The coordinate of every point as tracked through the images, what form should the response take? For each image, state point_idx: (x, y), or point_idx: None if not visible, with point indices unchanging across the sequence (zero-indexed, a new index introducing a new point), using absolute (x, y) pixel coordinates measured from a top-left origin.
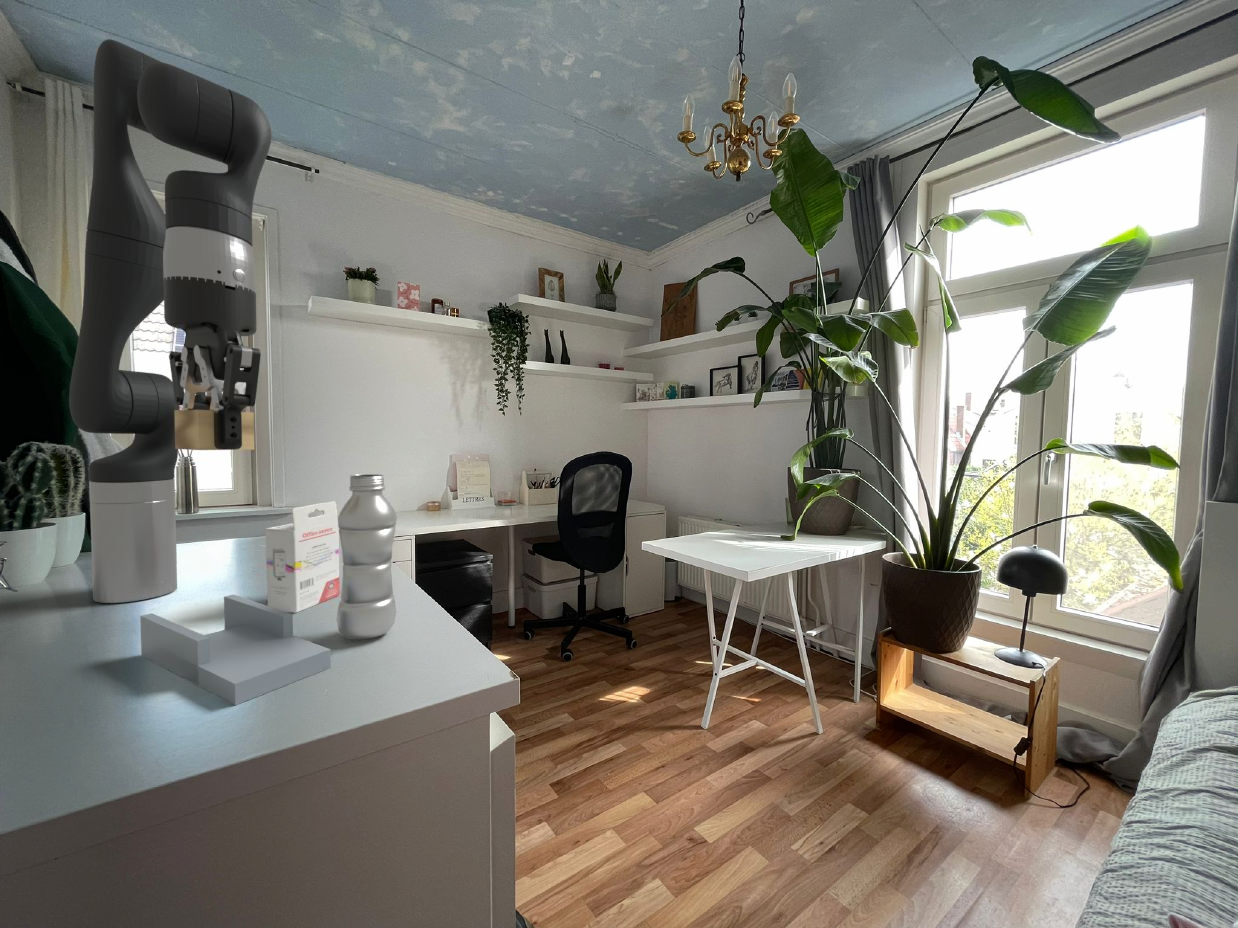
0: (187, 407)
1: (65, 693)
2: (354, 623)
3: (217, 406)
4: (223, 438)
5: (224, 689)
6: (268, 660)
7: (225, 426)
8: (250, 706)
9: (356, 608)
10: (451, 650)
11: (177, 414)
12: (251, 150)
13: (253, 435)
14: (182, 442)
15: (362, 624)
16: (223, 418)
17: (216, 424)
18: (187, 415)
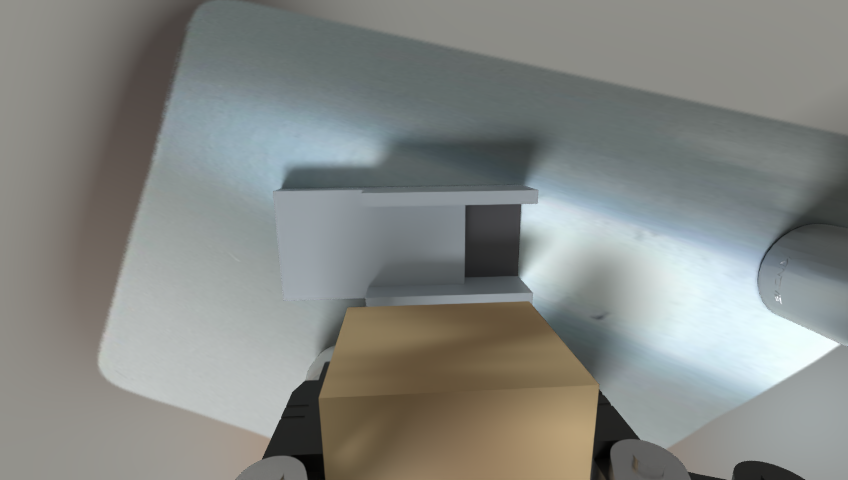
0: (620, 457)
1: (471, 97)
2: (321, 356)
3: (253, 477)
4: (307, 391)
5: (301, 189)
6: (311, 243)
7: (279, 427)
8: (265, 196)
9: (318, 370)
10: (216, 395)
11: (555, 372)
12: None
13: None
14: (477, 313)
15: (314, 361)
16: (283, 452)
17: (312, 413)
18: (443, 375)
